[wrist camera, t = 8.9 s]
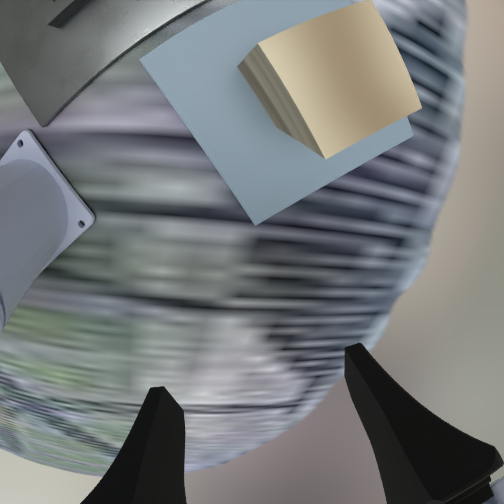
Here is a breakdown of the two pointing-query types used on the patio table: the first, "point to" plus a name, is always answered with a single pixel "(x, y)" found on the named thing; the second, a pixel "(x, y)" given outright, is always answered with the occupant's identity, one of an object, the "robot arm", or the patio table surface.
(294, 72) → the peg
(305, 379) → the patio table surface
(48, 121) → the socket base
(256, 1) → the board
